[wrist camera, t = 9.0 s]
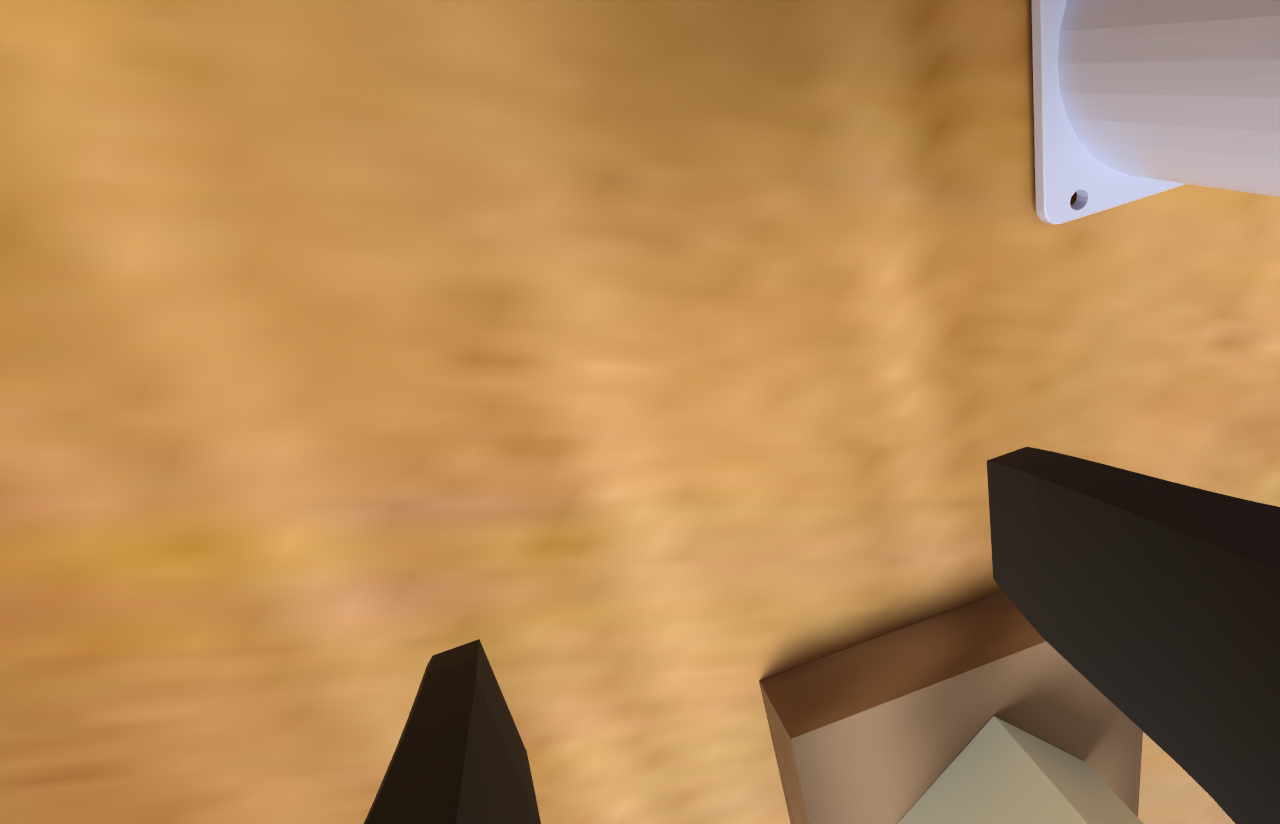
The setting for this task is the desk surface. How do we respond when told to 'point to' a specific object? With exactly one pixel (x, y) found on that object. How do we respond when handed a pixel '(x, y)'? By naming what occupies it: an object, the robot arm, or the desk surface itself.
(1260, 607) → the robot arm
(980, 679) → the walnut box
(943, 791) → the white block
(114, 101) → the desk surface
